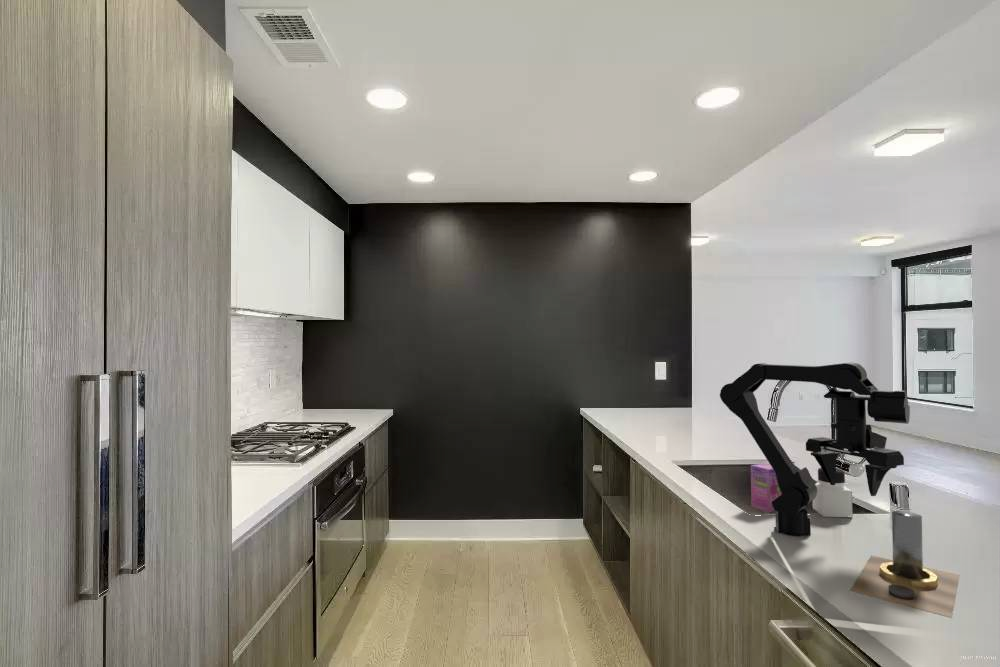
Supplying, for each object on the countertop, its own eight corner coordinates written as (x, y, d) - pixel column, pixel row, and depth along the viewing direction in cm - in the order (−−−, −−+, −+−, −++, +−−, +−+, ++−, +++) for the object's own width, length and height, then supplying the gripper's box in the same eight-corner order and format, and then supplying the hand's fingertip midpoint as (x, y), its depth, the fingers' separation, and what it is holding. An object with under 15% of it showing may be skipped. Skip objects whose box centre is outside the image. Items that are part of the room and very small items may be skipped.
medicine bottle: (853, 518, 135) (852, 471, 135) (822, 517, 136) (821, 470, 137) (841, 509, 142) (839, 465, 142) (812, 508, 143) (811, 464, 144)
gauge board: (951, 622, 85) (951, 611, 85) (850, 594, 95) (849, 584, 95) (959, 579, 100) (959, 569, 100) (871, 559, 110) (870, 550, 110)
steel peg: (890, 577, 100) (889, 514, 100) (896, 570, 103) (895, 509, 103) (920, 585, 96) (918, 520, 96) (925, 578, 99) (924, 514, 99)
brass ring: (891, 585, 97) (891, 578, 97) (873, 566, 105) (873, 560, 105) (946, 591, 94) (946, 584, 94) (923, 571, 102) (923, 564, 102)
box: (769, 513, 140) (768, 468, 140) (750, 507, 145) (749, 464, 146) (794, 506, 145) (792, 464, 145) (774, 501, 150) (773, 460, 150)
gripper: (921, 422, 110) (923, 497, 109) (837, 412, 127) (839, 476, 127) (883, 426, 106) (885, 503, 106) (803, 415, 124) (804, 481, 123)
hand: (852, 490), depth 115 cm, fingers open, 9 cm apart
